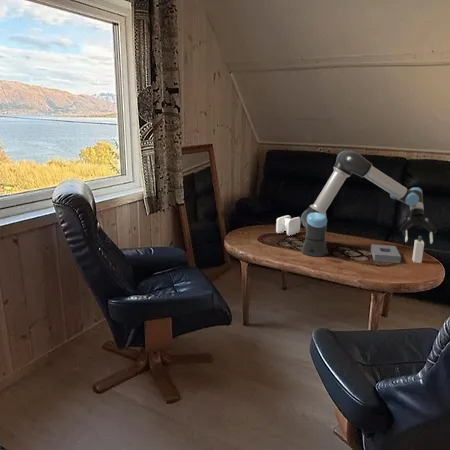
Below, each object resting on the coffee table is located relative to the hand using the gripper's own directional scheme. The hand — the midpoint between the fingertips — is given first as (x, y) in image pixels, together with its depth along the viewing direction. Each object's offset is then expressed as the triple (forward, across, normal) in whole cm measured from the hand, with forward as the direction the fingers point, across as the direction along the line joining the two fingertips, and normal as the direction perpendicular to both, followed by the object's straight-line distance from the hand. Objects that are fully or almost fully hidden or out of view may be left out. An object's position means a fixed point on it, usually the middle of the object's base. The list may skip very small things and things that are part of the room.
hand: (419, 242), depth 243 cm
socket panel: (+8, +18, -6) cm, 21 cm away
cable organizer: (-16, +78, -30) cm, 85 cm away
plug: (+11, +1, -3) cm, 11 cm away
